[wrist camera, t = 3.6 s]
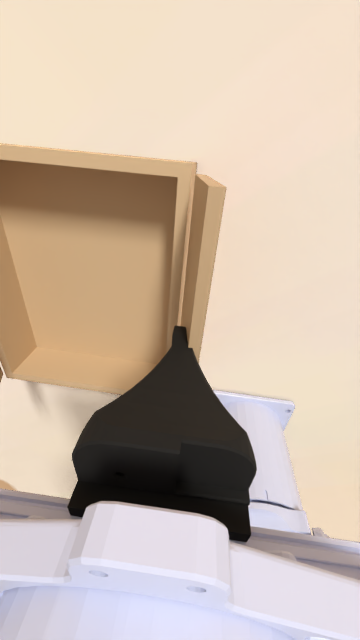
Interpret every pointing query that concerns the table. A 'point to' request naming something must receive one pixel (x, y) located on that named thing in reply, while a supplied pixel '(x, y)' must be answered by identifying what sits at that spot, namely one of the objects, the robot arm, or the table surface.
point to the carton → (90, 264)
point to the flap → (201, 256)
